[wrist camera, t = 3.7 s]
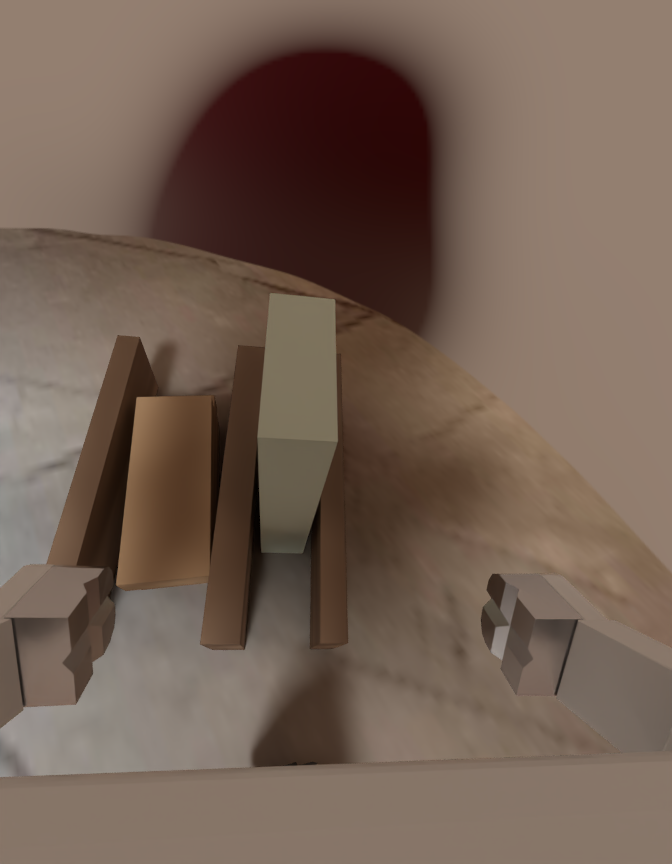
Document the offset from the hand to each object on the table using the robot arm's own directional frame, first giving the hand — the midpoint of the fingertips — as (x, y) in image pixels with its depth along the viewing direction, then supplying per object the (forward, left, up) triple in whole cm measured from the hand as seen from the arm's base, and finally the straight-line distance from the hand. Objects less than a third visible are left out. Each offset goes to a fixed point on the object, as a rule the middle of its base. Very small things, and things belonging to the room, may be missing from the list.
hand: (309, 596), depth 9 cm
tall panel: (0, +8, -15) cm, 17 cm away
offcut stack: (-6, +8, -16) cm, 19 cm away
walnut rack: (-4, +8, -15) cm, 18 cm away
